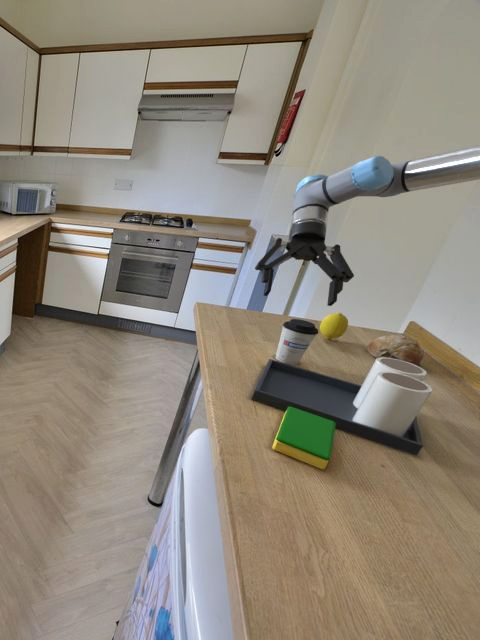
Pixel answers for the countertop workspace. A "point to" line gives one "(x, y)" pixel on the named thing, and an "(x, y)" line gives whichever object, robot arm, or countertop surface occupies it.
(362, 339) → the countertop surface
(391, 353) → the bread roll
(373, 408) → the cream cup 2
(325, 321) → the lemon
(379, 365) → the cream cup
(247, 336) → the countertop surface
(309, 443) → the dish sponge
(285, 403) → the cup tray
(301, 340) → the coffee cup
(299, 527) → the countertop surface
